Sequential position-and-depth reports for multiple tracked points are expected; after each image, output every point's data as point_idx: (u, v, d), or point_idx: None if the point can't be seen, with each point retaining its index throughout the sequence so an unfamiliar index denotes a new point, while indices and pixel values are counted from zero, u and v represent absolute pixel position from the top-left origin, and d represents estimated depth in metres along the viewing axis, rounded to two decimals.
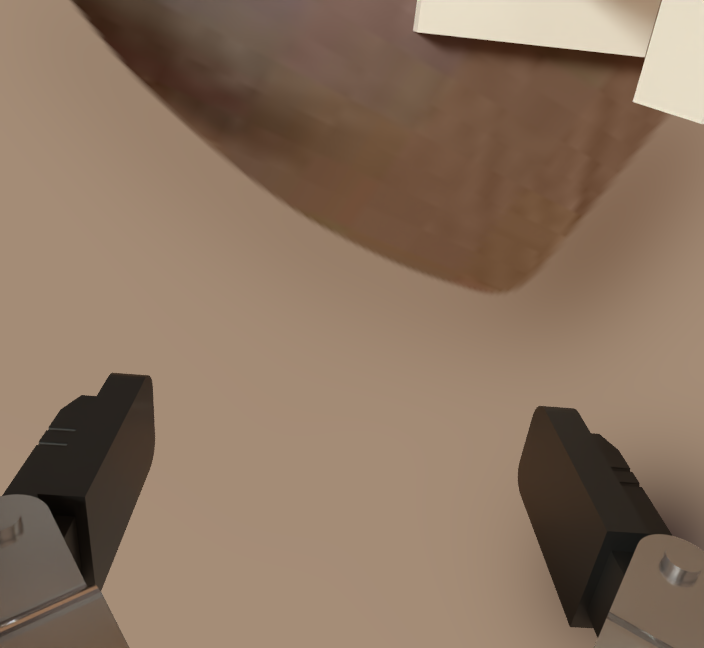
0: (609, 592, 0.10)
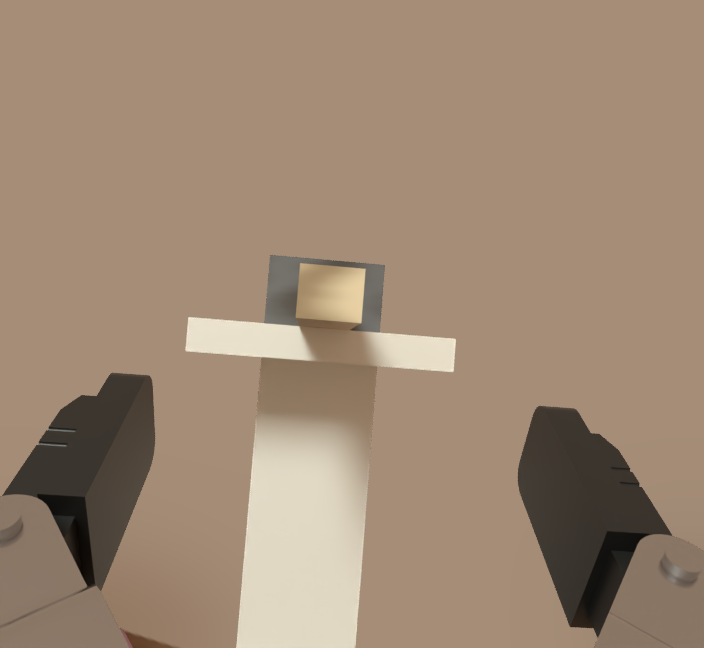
0: (609, 592, 0.10)
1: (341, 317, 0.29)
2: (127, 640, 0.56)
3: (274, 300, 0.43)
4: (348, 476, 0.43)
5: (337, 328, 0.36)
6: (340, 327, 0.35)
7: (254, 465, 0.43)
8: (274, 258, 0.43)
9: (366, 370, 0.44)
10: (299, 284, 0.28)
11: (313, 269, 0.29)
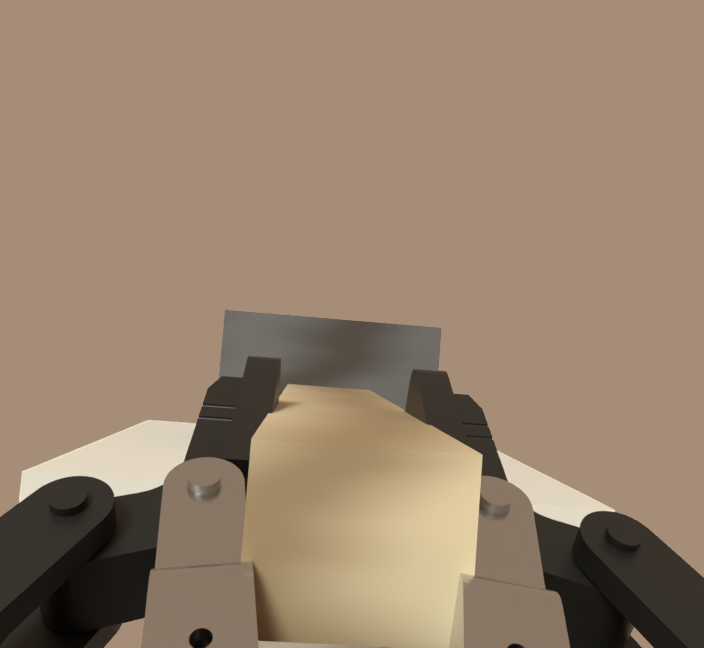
0: None
1: (399, 633, 0.08)
2: None
3: None
4: None
5: None
6: None
7: None
8: (233, 316, 0.23)
9: None
10: (248, 517, 0.08)
11: (299, 460, 0.08)
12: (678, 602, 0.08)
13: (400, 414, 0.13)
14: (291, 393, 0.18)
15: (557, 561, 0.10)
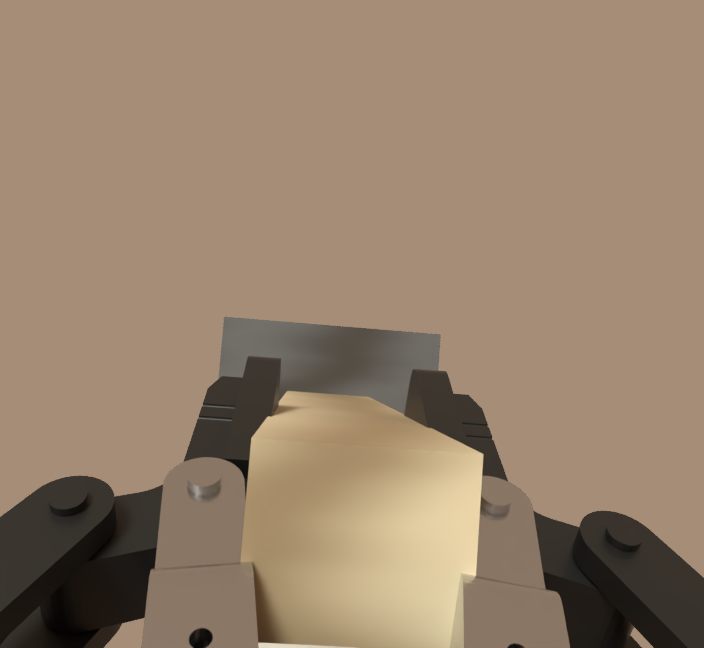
0: None
1: (399, 635, 0.08)
2: None
3: None
4: None
5: None
6: None
7: None
8: (232, 323, 0.23)
9: None
10: (248, 517, 0.08)
11: (299, 460, 0.08)
12: (678, 602, 0.08)
13: (400, 418, 0.13)
14: (290, 399, 0.18)
15: (557, 561, 0.10)
